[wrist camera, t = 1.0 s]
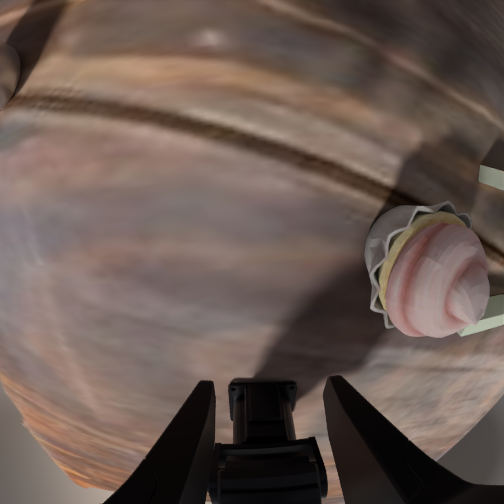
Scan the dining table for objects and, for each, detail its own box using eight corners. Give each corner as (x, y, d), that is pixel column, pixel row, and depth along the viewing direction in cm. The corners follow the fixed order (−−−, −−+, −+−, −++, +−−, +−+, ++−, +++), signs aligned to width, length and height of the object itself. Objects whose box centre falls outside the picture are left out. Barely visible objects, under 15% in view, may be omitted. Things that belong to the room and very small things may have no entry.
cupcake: (318, 265, 20) (369, 365, 11) (392, 159, 17) (498, 192, 8) (396, 312, 22) (451, 394, 13) (458, 228, 19) (539, 283, 10)
